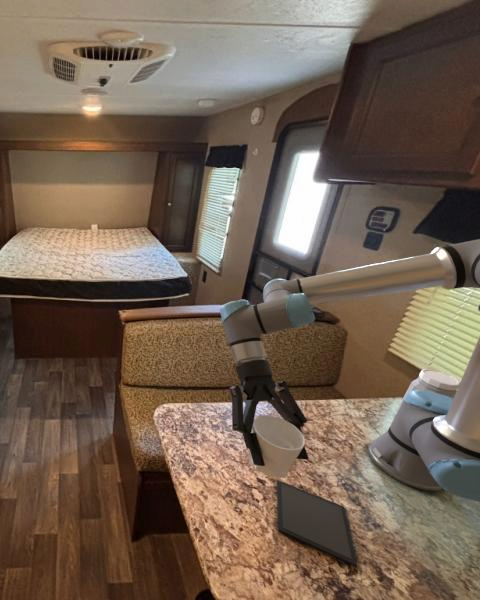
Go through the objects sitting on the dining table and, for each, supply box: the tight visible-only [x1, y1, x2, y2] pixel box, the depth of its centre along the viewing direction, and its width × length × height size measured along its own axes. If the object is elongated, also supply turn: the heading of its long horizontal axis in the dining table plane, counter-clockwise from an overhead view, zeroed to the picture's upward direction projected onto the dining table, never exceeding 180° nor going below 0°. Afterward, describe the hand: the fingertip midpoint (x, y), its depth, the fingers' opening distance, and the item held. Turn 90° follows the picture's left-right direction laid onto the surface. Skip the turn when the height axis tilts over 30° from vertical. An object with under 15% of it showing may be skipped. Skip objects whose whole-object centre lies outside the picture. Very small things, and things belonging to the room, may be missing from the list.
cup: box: [246, 414, 306, 480], centre depth 72 cm, size 10×10×10 cm
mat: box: [276, 479, 358, 568], centre depth 73 cm, size 14×14×1 cm
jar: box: [395, 368, 461, 413], centre depth 99 cm, size 10×10×18 cm
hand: (281, 462), depth 69 cm, fingers closed on cup, 10 cm apart
